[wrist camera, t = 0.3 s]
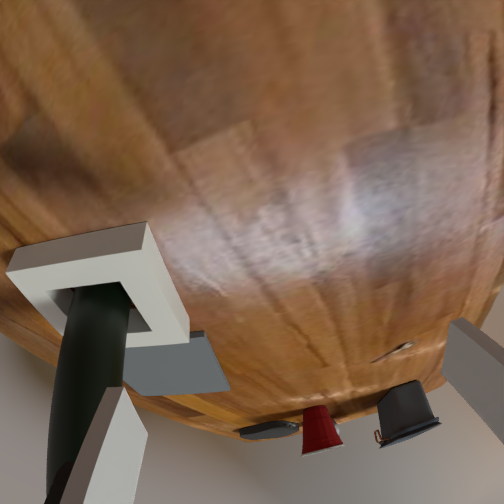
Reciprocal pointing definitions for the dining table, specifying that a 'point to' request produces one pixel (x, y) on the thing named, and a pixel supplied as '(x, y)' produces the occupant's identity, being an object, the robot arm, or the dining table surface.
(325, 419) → the plastic cup
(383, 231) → the dining table surface
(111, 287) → the wine bottle
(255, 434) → the media streaming box
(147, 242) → the frame
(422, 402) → the storage bin
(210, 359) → the coaster mat
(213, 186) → the dining table surface
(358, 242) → the dining table surface
